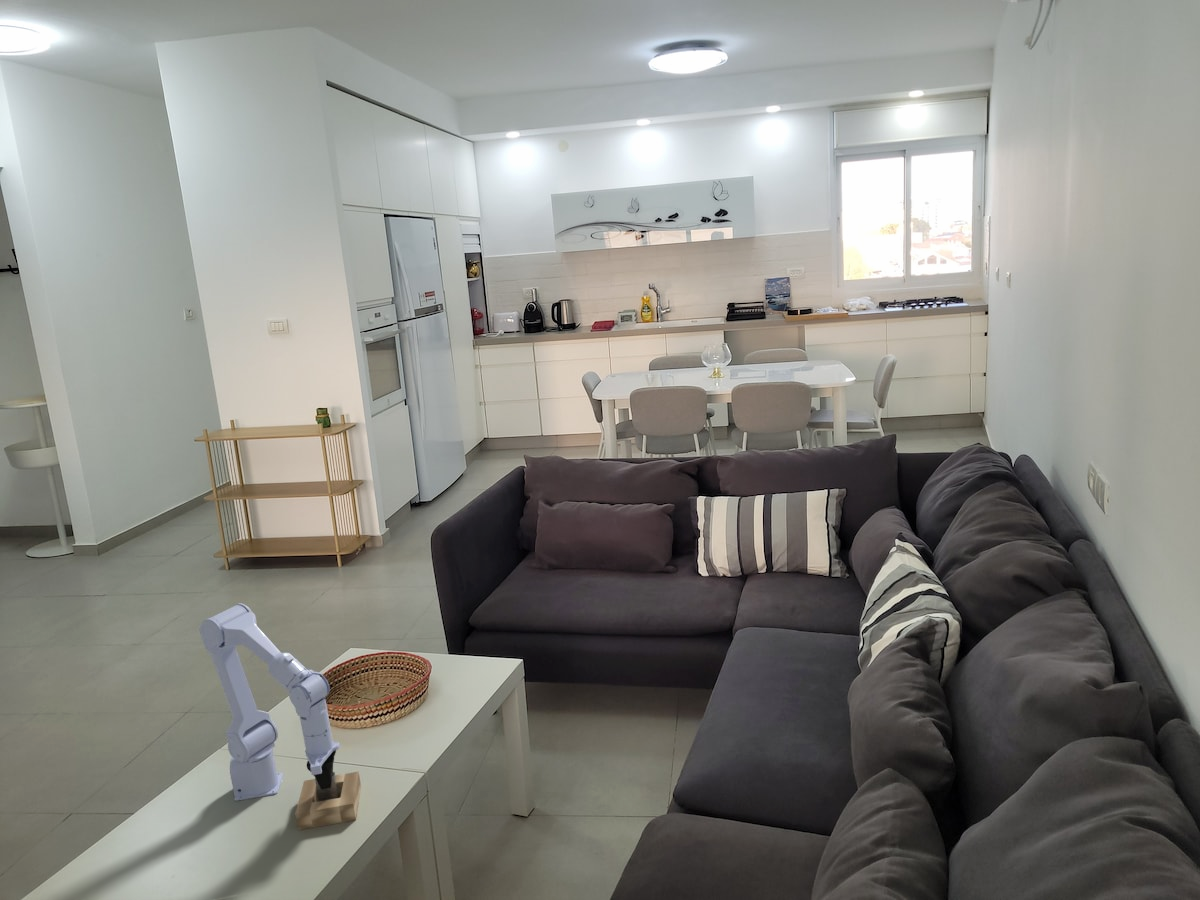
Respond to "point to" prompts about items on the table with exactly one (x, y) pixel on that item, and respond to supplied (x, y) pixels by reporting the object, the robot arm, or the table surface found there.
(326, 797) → the grey block
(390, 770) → the table surface
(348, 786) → the well block
